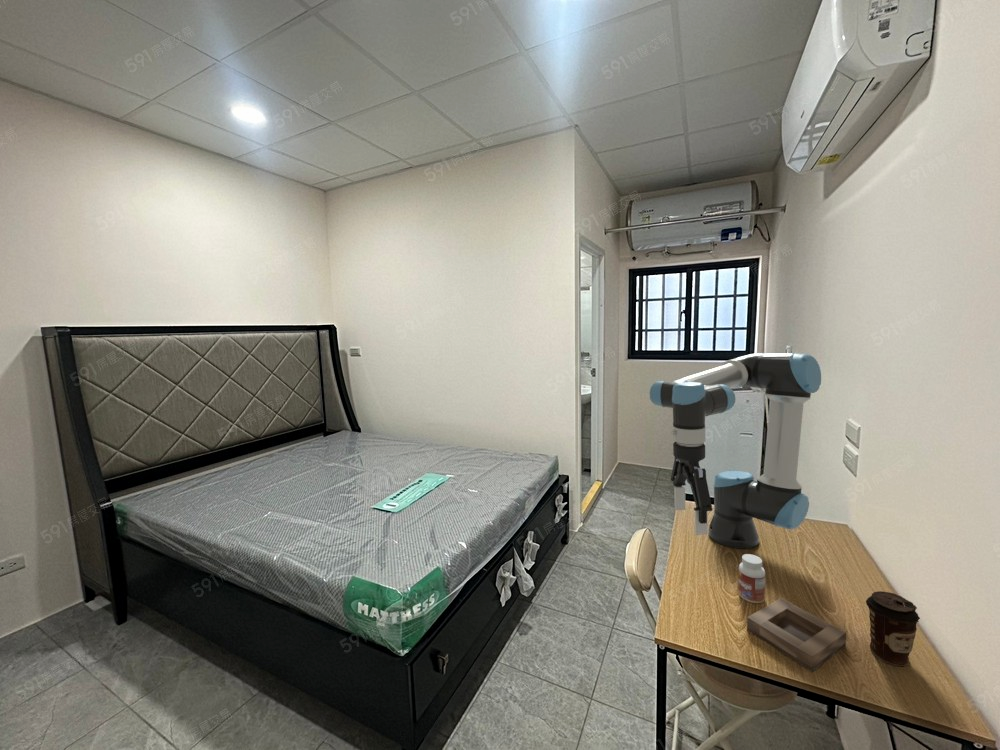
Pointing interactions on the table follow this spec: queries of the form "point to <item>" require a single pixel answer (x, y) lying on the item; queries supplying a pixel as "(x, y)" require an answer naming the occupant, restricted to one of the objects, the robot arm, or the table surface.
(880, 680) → the table surface
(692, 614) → the table surface
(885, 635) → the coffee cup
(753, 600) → the pill bottle
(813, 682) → the table surface
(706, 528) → the robot arm
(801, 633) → the bore block
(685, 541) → the table surface
